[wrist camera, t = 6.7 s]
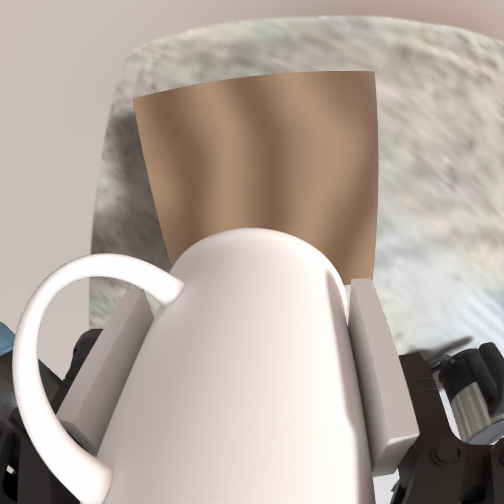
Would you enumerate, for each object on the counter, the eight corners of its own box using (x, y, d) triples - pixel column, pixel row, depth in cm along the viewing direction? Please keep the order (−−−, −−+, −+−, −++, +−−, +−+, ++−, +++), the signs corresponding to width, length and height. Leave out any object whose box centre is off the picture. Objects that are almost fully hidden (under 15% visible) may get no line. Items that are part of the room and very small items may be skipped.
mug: (88, 231, 14) (-77, 443, 3) (235, 116, 11) (-69, 480, 1) (234, 383, 18) (206, 578, 8) (371, 328, 15) (416, 567, 5)
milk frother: (480, 373, 44) (506, 438, 31) (402, 401, 48) (418, 473, 35) (491, 319, 38) (532, 392, 25) (400, 351, 42) (425, 438, 29)
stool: (195, 256, 36) (178, 293, 30) (163, 94, 28) (132, 98, 21) (357, 245, 34) (372, 282, 28) (353, 73, 25) (374, 71, 19)
